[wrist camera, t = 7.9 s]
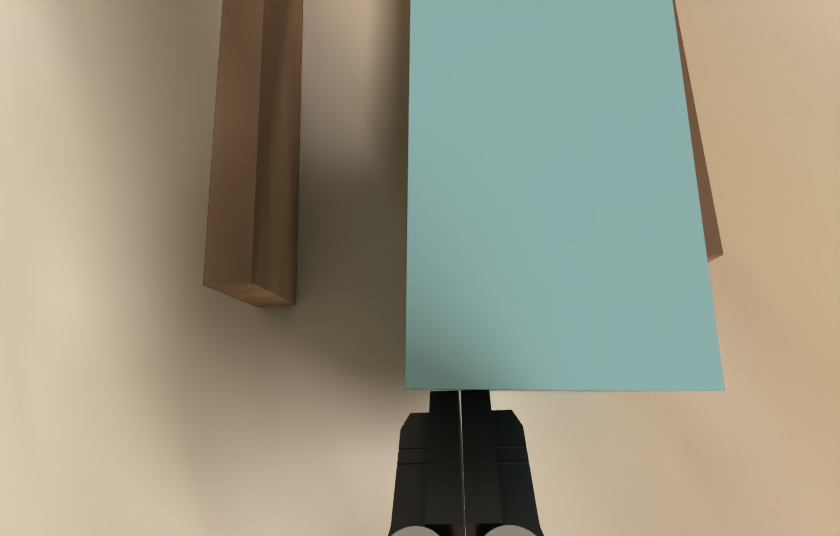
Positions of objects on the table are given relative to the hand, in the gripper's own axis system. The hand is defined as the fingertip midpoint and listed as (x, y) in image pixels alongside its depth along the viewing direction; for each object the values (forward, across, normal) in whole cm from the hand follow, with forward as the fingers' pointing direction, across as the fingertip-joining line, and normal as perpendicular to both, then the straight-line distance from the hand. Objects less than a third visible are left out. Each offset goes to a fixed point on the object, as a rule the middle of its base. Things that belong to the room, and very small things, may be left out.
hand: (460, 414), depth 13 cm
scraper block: (+9, -2, -2) cm, 9 cm away
